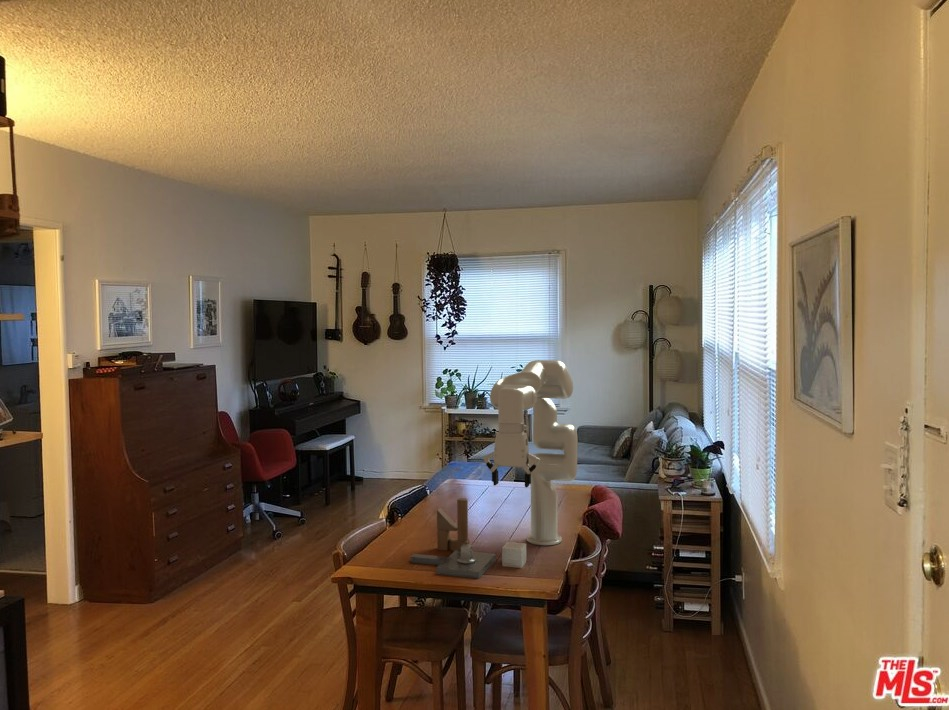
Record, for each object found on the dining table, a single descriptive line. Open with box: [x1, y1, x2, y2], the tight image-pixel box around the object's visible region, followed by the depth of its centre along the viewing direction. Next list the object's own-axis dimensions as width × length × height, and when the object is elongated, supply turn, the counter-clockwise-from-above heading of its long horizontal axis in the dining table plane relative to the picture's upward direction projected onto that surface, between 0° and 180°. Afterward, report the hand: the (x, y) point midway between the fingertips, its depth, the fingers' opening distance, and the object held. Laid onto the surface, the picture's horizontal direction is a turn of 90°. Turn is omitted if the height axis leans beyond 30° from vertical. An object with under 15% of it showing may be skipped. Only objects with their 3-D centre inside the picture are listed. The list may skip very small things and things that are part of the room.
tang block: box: [410, 544, 497, 580], centre depth 223 cm, size 18×26×7 cm
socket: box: [501, 541, 527, 569], centre depth 223 cm, size 6×6×6 cm
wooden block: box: [436, 497, 470, 552], centre depth 238 cm, size 4×11×18 cm, turn 76°
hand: (511, 485), depth 206 cm, fingers open, 9 cm apart
